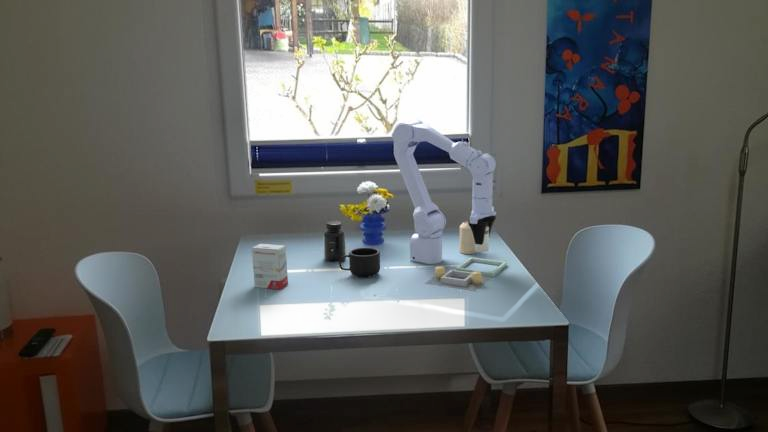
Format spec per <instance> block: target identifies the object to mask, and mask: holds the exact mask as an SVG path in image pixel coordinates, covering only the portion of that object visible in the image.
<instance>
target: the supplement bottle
mask: <svg viewBox="0 0 768 432" xmlns="http://www.w3.org/2000/svg"><path fill="white" fill-rule="evenodd" d="M325 229H326V230H325V231H324V232H323V235H322V236H323V258H324V261H326V262H329V263H340V259H341V257H342V256H344V255H347V251H346V245H347V244H346V232H345V231H344V230H343V226H342V222H341V221H339V220H330V221H326V223H325ZM346 258H347V257H345V258H343V260H342V262H344V261H345V260H346Z"/></svg>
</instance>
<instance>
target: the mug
mask: <svg viewBox="0 0 768 432" xmlns="http://www.w3.org/2000/svg"><path fill="white" fill-rule="evenodd" d="M345 257H346V258H349V261H348V262H349V263H348V264H349V268H348V267H347V268H346V267H343V266H342V263H343V261H342V260H343V258H345ZM338 264H339V268H340V270H341V271H350V273H351V275H353V276H355V277H357V278H361V277H362V278H363V279H367V278H373V277H374V276H377V275H378V274H379V273H380V270H381V251H380V250H379V249H378V248H373V247H357V248H354V249H351V250H350V251H349V253H348V254H346V255H344V256H342V257H341V259H340V262H339V263H338ZM362 278H361V279H362Z"/></svg>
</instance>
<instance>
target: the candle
mask: <svg viewBox="0 0 768 432" xmlns="http://www.w3.org/2000/svg"><path fill="white" fill-rule="evenodd" d="M468 221H469V220H468ZM468 221H467V220H465V221H464V222H462V223H461V224H460V225H459V253H461V254H464V255H473V254H476V253H477V251H475V240H474V236H473V232H472V230H471V227H470V226H469V224H468Z"/></svg>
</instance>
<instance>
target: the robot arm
mask: <svg viewBox="0 0 768 432" xmlns="http://www.w3.org/2000/svg"><path fill="white" fill-rule="evenodd" d="M391 138H392V140H393V156H394V158H395V161H396V164H397V167H398V168H399V171H400V175H401V176H402V179H403V182H404V184H405V186H406V189H407V192H408V194H409V197H410V199H411V202H412V205H413V206H414V211H413V213H412V217H413V221H414V231H415V233H413V234H412V235H411V239H410V243H409V245H410V246H409V252H410V254H409V257H410V258H409V260H410V262H417V263H422V264H427V265H435V264H440V263H441V262H443V229H444V228H445V227H446V224H447V218H446V216H445V215H444V214H443V213H442V211H440V208H439V206H438V205H437V204H436V203H434V202H432V199H431V196H430V194H429V191H428V189H427V186H426V184H425V181H424V178H423V176H422V174H421V171H420V168H419V166H418V164H417V161H416V159H415V156H414V153H415V150H416V148H417V146H418V145H419V144H420V143H421V142H427V143H429V144H431V145H433V146H435V147H437V148H439V149H441V150H443V151H445V152H447V153H448V155H449V157H450V160H453V162H454V161H455V162H456V163H458V164H460V165H461V166H462V167H465V168H467V169H468V171H469V172H470V174H471V175H472V199H471V200H472V201H471V207H472V209H471V214H470V216H469V220H468V224H469V226H470V227H471V230H472V232H473V236H474V240H475V244H479V245H482V244H483V241H484V234H485V230H486V227H487V226H489V237H490V235H491V231H492V227H493V225H494V223H495V220H496V218H497V216H496V215H497V211H495V206H493V190H494V189H493V188H494V187H493V186H494V185H493V184H494V183H493V182H494V181H493V180H494V179H493V177H494V174H493V172H495V170H496V168H497V161H496V159H495V158H494V157H493V155H491V153H486V152H485V153H483V152H482V151H481V150H479V149H478V150H476V149H475V148H473V147H471V146H470V145H469V142H467V141H457V142H454V141H453V140H451V139H450V138H448V137H447V136H446V135H444V134H442V133H441V132H439V131H437V130H436V129H434V128H433V127H431V126H430V124H429V123H426V122H424V121H422V120H421V119H414V120H411V121H410V120H409V121H406V122H399V123H398V124H396V125H395V127H394V129H393V131H392V133H391Z"/></svg>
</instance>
